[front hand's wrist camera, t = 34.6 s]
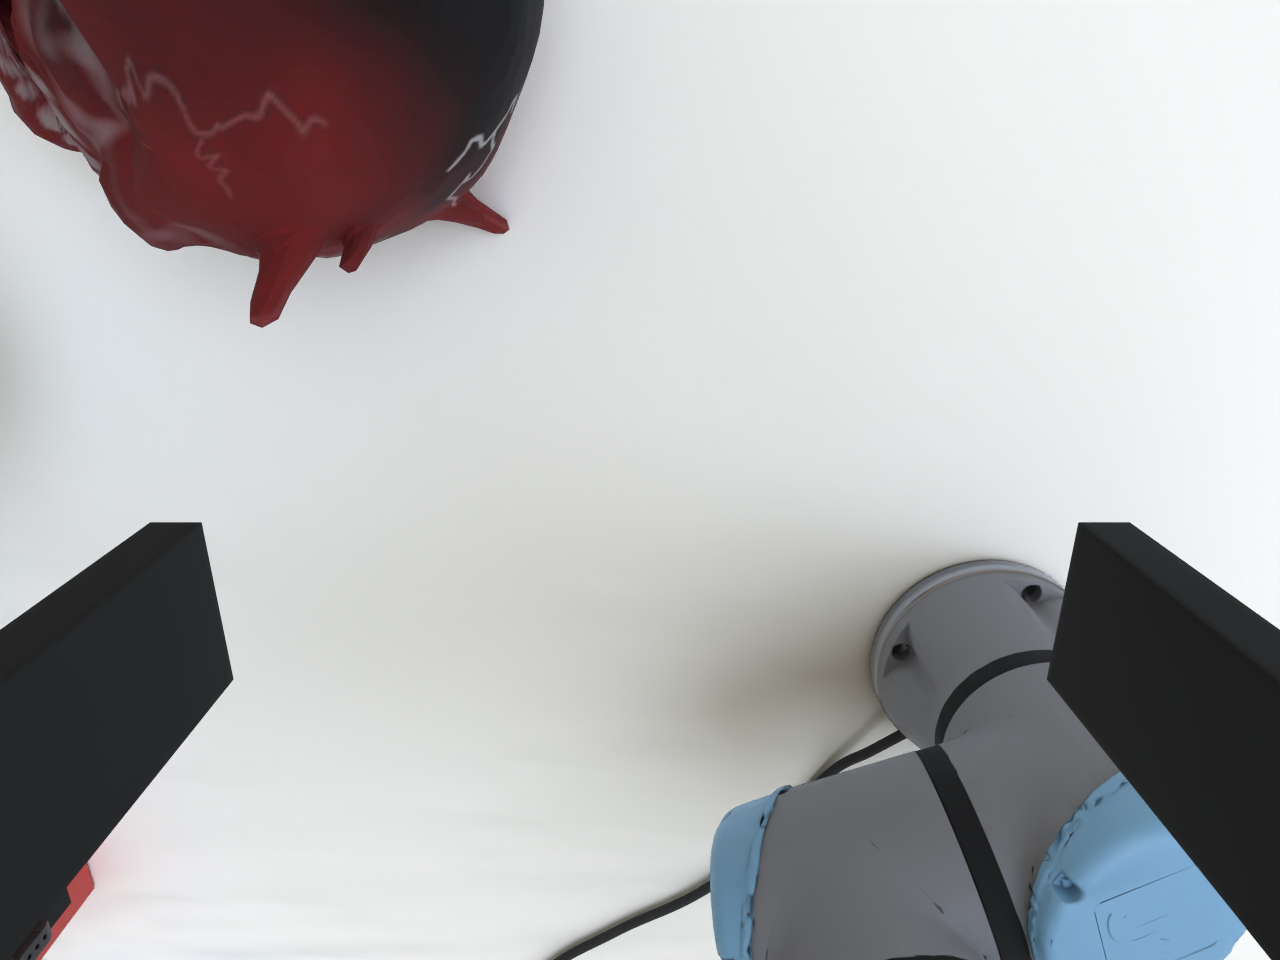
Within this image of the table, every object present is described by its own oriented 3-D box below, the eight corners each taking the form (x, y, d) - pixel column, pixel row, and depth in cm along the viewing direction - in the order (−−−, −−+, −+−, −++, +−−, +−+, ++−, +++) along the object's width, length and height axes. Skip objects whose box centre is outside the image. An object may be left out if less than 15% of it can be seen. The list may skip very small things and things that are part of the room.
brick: (72, 813, 65) (-14, 913, 56) (95, 887, 67) (16, 993, 59) (9, 814, 65) (-87, 914, 56) (34, 888, 67) (-54, 994, 59)
